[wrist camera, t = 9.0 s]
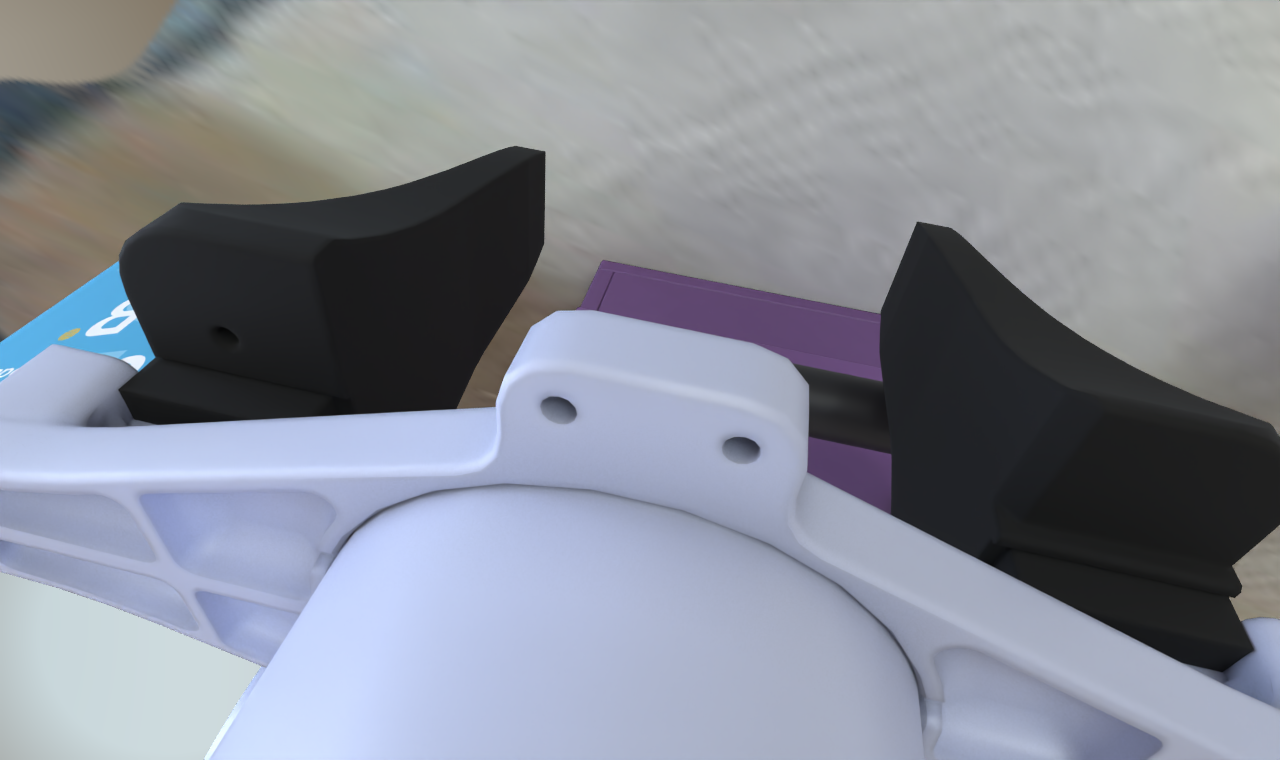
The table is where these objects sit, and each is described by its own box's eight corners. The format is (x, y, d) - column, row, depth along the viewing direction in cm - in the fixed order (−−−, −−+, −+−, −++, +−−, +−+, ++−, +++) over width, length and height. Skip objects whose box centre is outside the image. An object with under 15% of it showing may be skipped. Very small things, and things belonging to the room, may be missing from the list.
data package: (380, 201, 26) (142, 429, 17) (432, 304, 28) (251, 547, 19) (141, 243, 29) (-158, 447, 21) (207, 330, 32) (-31, 544, 23)
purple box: (943, 495, 29) (952, 556, 27) (590, 419, 31) (571, 471, 29) (1034, 343, 24) (1056, 403, 22) (602, 259, 25) (579, 307, 23)
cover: (1178, 671, 15) (1322, 525, 12) (473, 509, 16) (469, 345, 13) (1055, 416, 22) (1129, 290, 19) (576, 319, 23) (586, 189, 20)
